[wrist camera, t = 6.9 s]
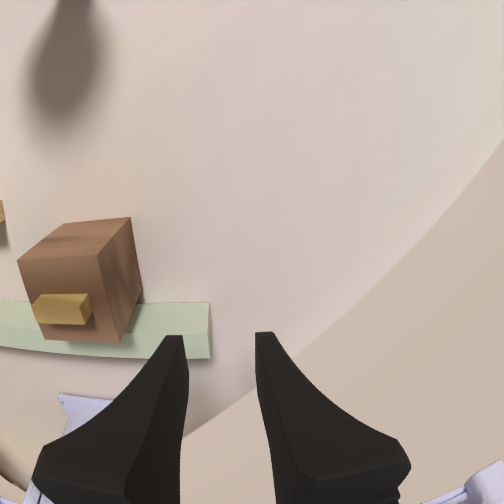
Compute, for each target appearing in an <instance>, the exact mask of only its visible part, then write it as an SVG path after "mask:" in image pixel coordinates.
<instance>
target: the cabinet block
mask: <svg viewBox="0 0 504 504" xmlns="http://www.w3.org/2000/svg"><path fill="white" fill-rule="evenodd" d="M17 263H18V266H19V270H20V273H21V276H22V279H23V283H24V286H25V289H26V292H27V295H28V298H29V300H30V303H31V308H32V311H33V313H34V316H35V319H36V321H37V323H38V324H39V327H40V329H41V332H42V334H43V337H44V339H45V340H57V341H76V342H105V343H120V342H121V339H122V337H123V334H124V332H125V329H126V327H127V324H128V322H129V319H130V317H131V315H132V312H133V310H134V308H135V305H136V303H137V301H138V298H139V296H140V294H141V291H142V289H143V287H142V282H141V276H140V271H139V266H138V260H137V255H136V249H135V243H134V237H133V231H132V224H131V217H126V218H115V219H104V220H94V221H84V222H75V223H66V224H62V225H61V226H60V227H58V228H57V229H56V230H54V231H53V232H52V233H50V234H49V235H48V236H46V237H45V238H44V239H43V240H41V241H40V242H39V243H37V244H36V245H35V246H34V247H32V248H31V249H30V250H29V251H27V252H26V253H25V254H24V255H22V256H21V257H20V258H19V259H18V260H17Z"/></svg>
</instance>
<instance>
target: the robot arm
mask: <svg viewBox="0 0 504 504" xmlns="http://www.w3.org/2000/svg"><path fill="white" fill-rule="evenodd" d="M255 373H256V383H257V393H258V398H259V402H260V407H261V412H262V416H263V420H264V425H265V429H266V433H267V438H268V442H269V447H270V454H271V462H272V469H273V478H274V487H275V496H276V504H399V502H398V499H399V498H400V493H399V491H398V486H399V485H400V484H401V483H402V482H403V480H404V479H405V478H406V476H407V475H408V473H409V471H410V470H411V463H410V461H409V459H408V456H407V454H406V453H405V451H404V449H403V448H402V446H401V445H400V443H399V442H398V440H397V439H395V438H392V437H390V436H388V435H386V434H383V433H381V432H379V431H377V430H375V429H373V428H371V427H369V426H367V425H365V424H363V423H362V422H360V421H358V420H357V419H355V418H354V417H352V416H351V415H349V414H348V413H347V412H345V411H344V410H342V409H341V408H339V407H338V406H337V405H335V404H334V403H333V402H332V401H330V400H329V399H328V398H327V397H326V396H325V395H323V394H322V393H321V392H320V391H319V390H318V389H317V388H316V387H315V386H314V385H313V384H312V383H311V382H310V381H309V380H308V379H307V378H306V377H305V375H304V374H303V373H302V372H301V371H300V370H299V368H298V367H297V366H296V365H295V363H294V362H293V361H292V360H291V358H290V357H289V356H288V354H287V353H286V351H285V350H284V349H283V347H282V346H281V344H280V342H279V341H278V339H277V337H276V336H275V334H274V333H273V332H256V333H255ZM188 395H189V370H188V365H187V359H186V353H185V347H184V341H183V335H166V336H165V337H164V338H163V340H162V341H161V343H160V344H159V346H158V347H157V349H156V350H155V352H154V353H153V355H152V356H151V357H150V359H149V360H148V361H147V363H146V364H145V365H144V367H143V368H142V369H141V371H140V372H139V373H138V374H137V375H136V377H135V378H134V379H133V380H132V381H131V382H130V384H129V385H128V386H127V387H126V388H125V389H124V390H123V391H122V392H121V393H120V394H119V395H118V396H117V397H116V398H115V399H114V400H106V399H96V398H87V397H79V396H72V395H65V394H59V395H58V400H59V402H60V403H61V405H62V407H63V409H64V410H65V412H66V414H67V415H68V417H69V418H68V421H67V423H66V426H65V429H64V431H63V434H62V437H61V438H59V439H57V440H55V441H53V442H51V443H49V444H47V445H44V446H43V448H42V450H41V452H40V455H39V457H38V460H37V463H36V466H35V469H34V472H33V475H32V478H31V480H30V483H29V486H28V489H27V492H26V495H25V498H24V501H23V504H180V450H181V441H182V435H183V428H184V422H185V416H186V409H187V403H188ZM0 504H18V503H15V502H13V501H11V500H8V499H6V498H4V497H2V496H0ZM422 504H504V464H503V463H502V461H501V460H497V461H495V462H494V463H492V464H490V465H489V466H487V467H485V468H483V469H481V470H480V471H478V472H476V473H475V474H474V475H473V476H471V477H470V478H469V479H468V480H467V481H466V483H465V484H464V485H462V486H460V487H458V488H456V489H454V490H452V491H450V492H447V493H445V494H443V495H441V496H439V497H436V498H434V499H432V500H429V501H427V502H424V503H422Z"/></svg>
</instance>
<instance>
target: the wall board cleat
mask: <svg viewBox="0 0 504 504" xmlns="http://www.w3.org/2000/svg"><path fill="white" fill-rule="evenodd" d="M4 220H5V217H4V212H3V207H2V201H1V200H0V223H1V222H2V221H4ZM211 327H212V325H211V314H210V303H209V302H196V303H140V304H136V305H135V308H134V310H133V312H132V315H131V317H130V319H129V322H128V324H127V327H126V329H125V332H124V334H123V337H122V339H121V342H120V343H105V342H76V341H57V340H45V339H44V337H43V334H42V332H41V329H40V327H39V324H38V323H37V321H36V319H35V316H34V313H33V311H32V308H31V303H30V302H21V301H0V346H6V347H12V348H19V349H27V350H35V351H43V352H52V353H62V354H73V355H86V356H101V357H119V358H149V359H150V357H151V356H152V355H153V353H154V352H155V350H156V349H157V347H158V346H159V344H160V343H161V341H162V340H163V338H164V337H165V336H166V335H183V341H184V347H185V353H186V359H206V358H210V350H211Z"/></svg>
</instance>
